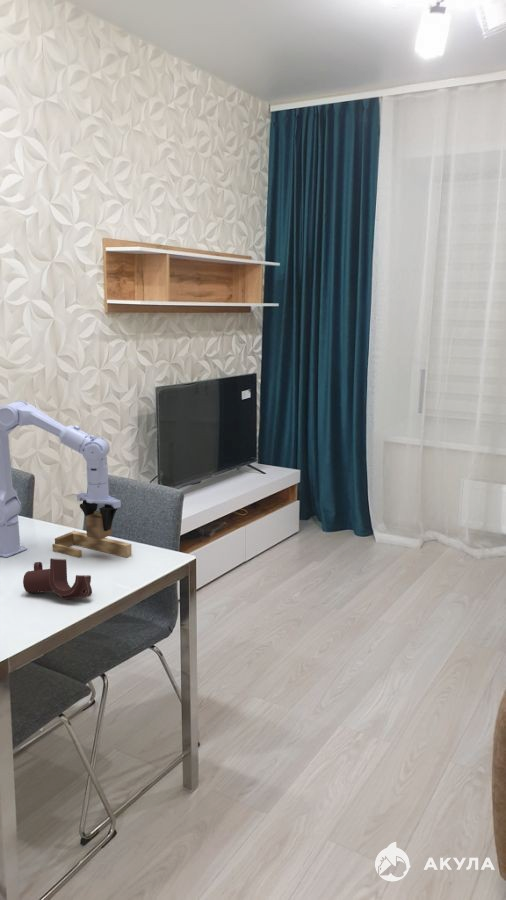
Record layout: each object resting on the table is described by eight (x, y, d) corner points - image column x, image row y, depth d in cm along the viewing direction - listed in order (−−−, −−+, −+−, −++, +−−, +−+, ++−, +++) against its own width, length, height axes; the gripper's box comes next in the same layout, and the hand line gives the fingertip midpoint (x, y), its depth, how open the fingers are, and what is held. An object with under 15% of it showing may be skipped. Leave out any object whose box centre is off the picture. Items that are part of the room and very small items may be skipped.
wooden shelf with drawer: (52, 550, 209) (52, 539, 208) (74, 541, 217) (74, 530, 216) (110, 565, 198) (109, 553, 198) (131, 555, 206) (131, 543, 205)
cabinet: (86, 536, 203) (85, 512, 201) (99, 531, 207) (98, 508, 205) (99, 539, 200) (98, 515, 199) (112, 534, 204) (111, 511, 203)
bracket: (84, 596, 172) (82, 554, 174) (22, 602, 177) (21, 561, 179) (96, 595, 178) (95, 555, 180) (37, 601, 183) (36, 562, 185)
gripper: (68, 481, 201) (70, 527, 204) (107, 488, 193) (109, 536, 196) (86, 476, 207) (88, 521, 210) (125, 483, 199) (126, 529, 202)
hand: (99, 528), depth 203 cm, fingers closed on cabinet, 5 cm apart
